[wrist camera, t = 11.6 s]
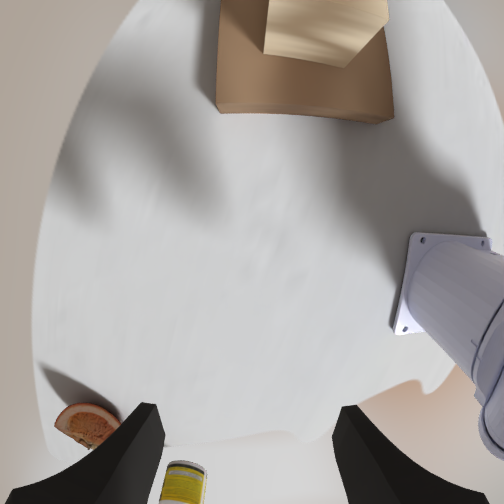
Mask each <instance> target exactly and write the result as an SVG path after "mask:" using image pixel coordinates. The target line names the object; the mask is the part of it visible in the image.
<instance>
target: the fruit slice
mask: <svg viewBox="0 0 504 504" xmlns="http://www.w3.org/2000/svg"><path fill="white" fill-rule="evenodd" d="M120 425H121V423H120V422H119V421H118V420H117V418H116V417H115V416H113V415H112V414H111V413H110V412H108V411H107V410H105V409H104V408H102V407H100V406H98V405H95V404H92V403H76V404H73V405H70V406H68V407H67V408H65V409H64V410H63V411H62V412H61V413H60V415H59V416H58V418H57V419H56V422H55V425H54V427H56V428H57V429H58V430H60V431H61V432H63V433H64V434H66V435H67V436H69V437H71V438H73V439H74V440H75V441H76V442H78V443H80V444H82V445H83V446H85V447H86V448H88V450H89V449H90V448H91V449H93V450H94V449H95V448H97V447H98V446H99V445H100V444H101V443H102V442H103V441H105V440H106V439H107V438H108V437H109V436H110V435H111V434H112V433H113V432H114V431H115V430H116V429H117V428H118V427H119V426H120Z"/></svg>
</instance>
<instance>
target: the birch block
mask: <svg viewBox="0 0 504 504" xmlns="http://www.w3.org/2000/svg"><path fill="white" fill-rule="evenodd" d="M388 21H389V12H388V4H387V0H269V7H268V16H267V25H266V34H265V44H264V53H263V54H269V55H276V56H284V57H290V58H296V59H302V60H308V61H313V62H318V63H323V64H327V65H331V66H336V67H340V68H345V67H346V66H347V65H348V64H349V62H350V61H351V60H352V59H353V58H354V57H355V56H356V55H357V54H358V53H359V52H360V50H361V49H362V48H363V47H364V46H365V45H366V44H367V43H368V42H369V41H370V40H371V39H372V38H373V36H374V35H375V34H376V33H377V32H378V31H379V30H380V29H381V28H382V27H383V26H384V25H385V24H386V23H387V22H388Z"/></svg>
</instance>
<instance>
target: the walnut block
mask: <svg viewBox="0 0 504 504" xmlns="http://www.w3.org/2000/svg"><path fill="white" fill-rule="evenodd" d="M268 7H269V0H221V6H220V20H219V36H218V54H217V76H216V105H217V107H218V109H219V111H220V113H221V114H224V113H264V114H289V115H304V116H316V117H327V118H336V119H344V120H352V121H359V122H365V123H371V124H379V123H382V122H384V121H387V120H390V119H393V118H394V106H393V93H392V82H391V72H390V64H389V57H388V50H387V43H386V37H385V32H384V27H382V28H381V29H380V30H379V31H378V32H377V33H376V34H375V35H374V36H373V38H372V39H371V40H370V41H369V42H368V43H367V44H366V45H365V46H364V47H363V48H362V49H361V50H360V52H359V53H358V54H357V55H356V56H355V57H354V58H353V59H352V60H351V61H350V62H349V64H348V65H347V66H346V67H345V68H340V67H336V66H331V65H327V64H323V63H318V62H313V61H308V60H302V59H296V58H290V57H284V56H276V55H269V54H263V53H264V44H265V34H266V25H267V16H268Z"/></svg>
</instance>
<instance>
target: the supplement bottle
mask: <svg viewBox="0 0 504 504" xmlns="http://www.w3.org/2000/svg"><path fill="white" fill-rule="evenodd" d="M206 479H207V471H206V470H205V469H204V468H203V467H202V466H200V465H198V464H196V463H193V462H189V461H172V462H170V463H169V464H168V466H167V470H166V474H165V479H164V483H163V487H162V491H161V495H160V499H159V504H204V497H205V488H206Z"/></svg>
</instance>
